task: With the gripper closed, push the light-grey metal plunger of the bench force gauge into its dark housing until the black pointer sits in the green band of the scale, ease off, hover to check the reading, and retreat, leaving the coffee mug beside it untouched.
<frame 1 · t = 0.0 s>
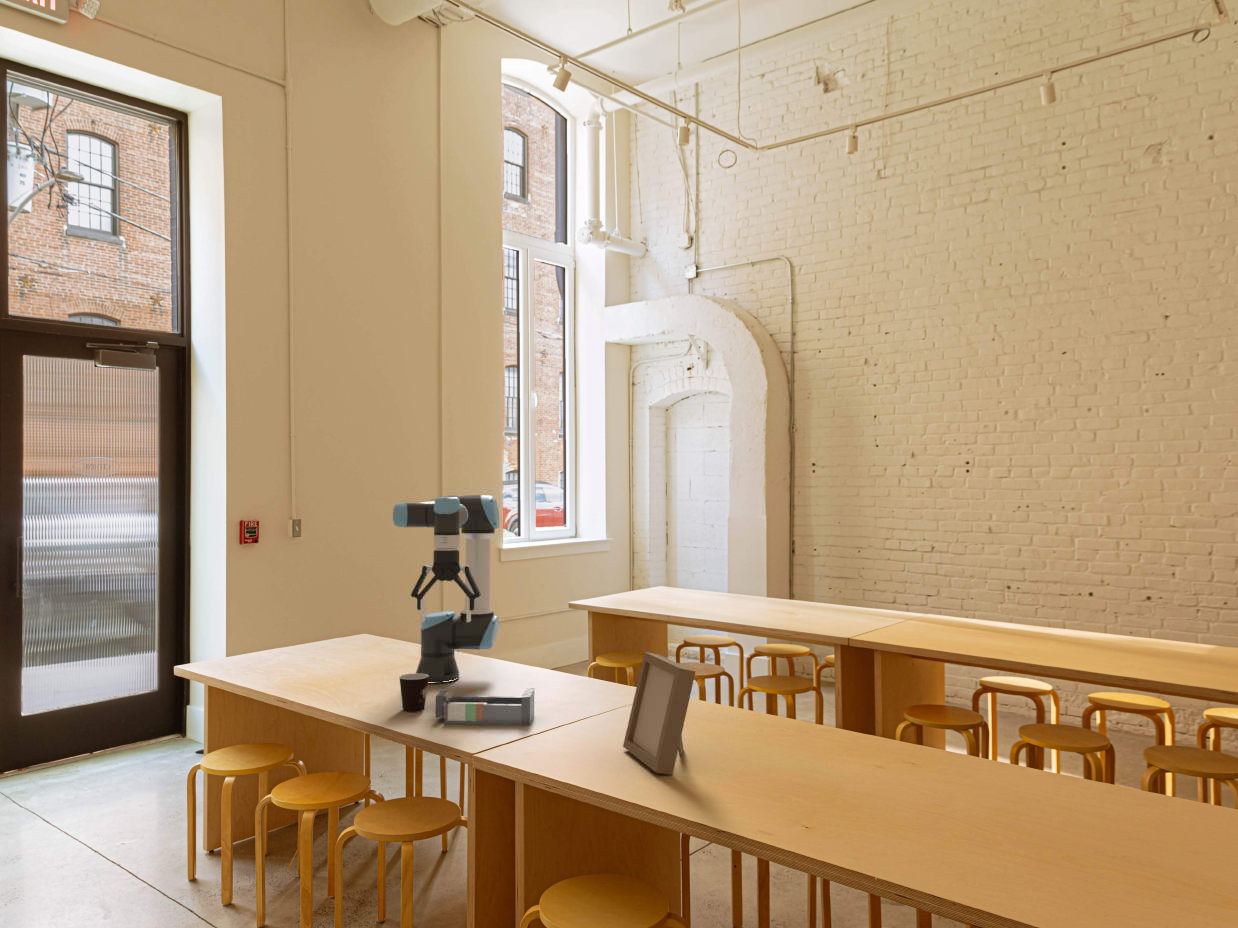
hand: (445, 621, 254), 28 cm above the table, tool pointing down, fingers open, 13 cm apart
coffee mug: (417, 709, 263), on the table
gauge housing: (486, 719, 250), on the table
photo frame: (666, 760, 214), on the table
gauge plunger: (461, 705, 249), point 4 cm above the table, slide at 0.0 cm
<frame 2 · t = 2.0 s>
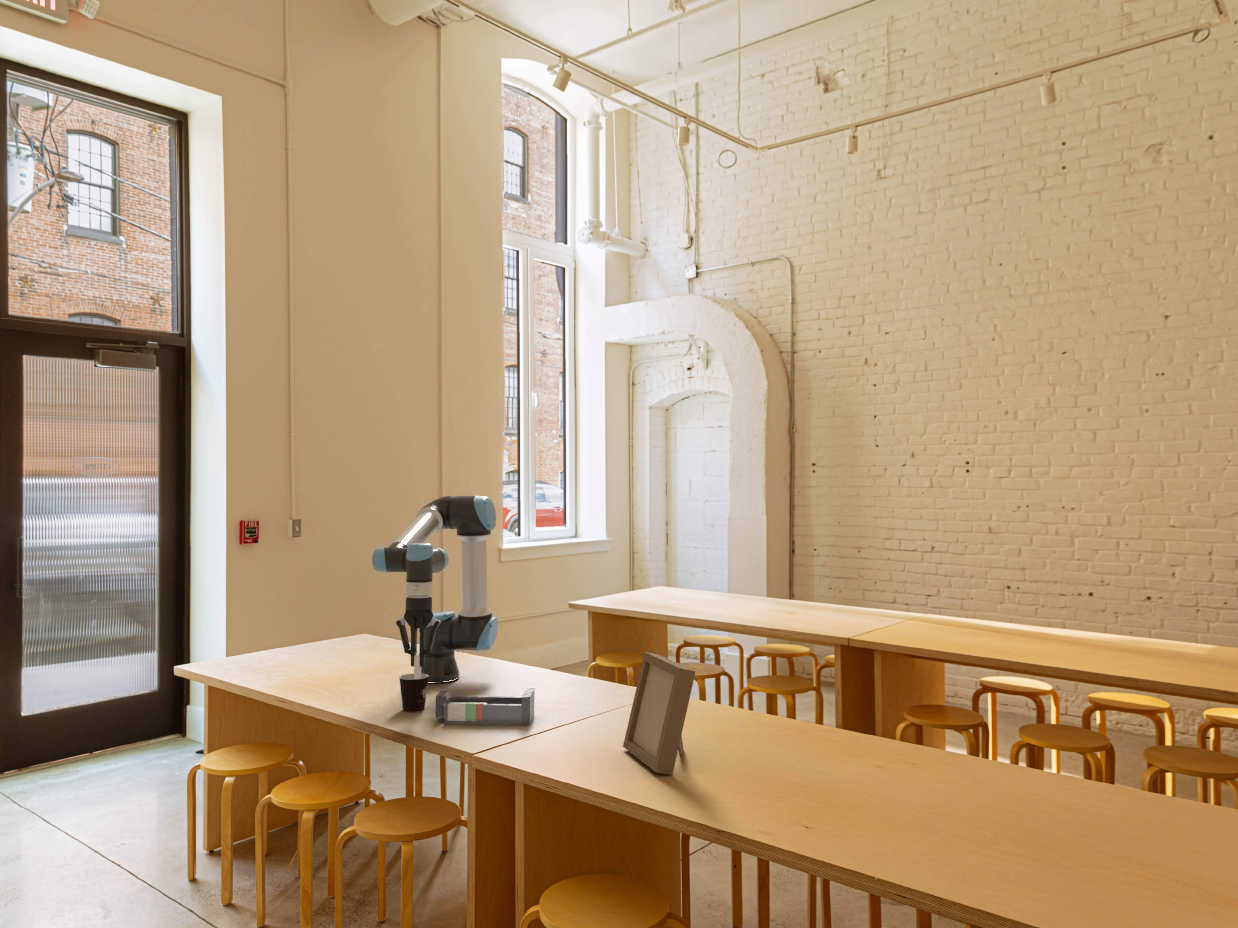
hand: (417, 677, 251), 12 cm above the table, tool pointing down, fingers closed
nothing on the table moved.
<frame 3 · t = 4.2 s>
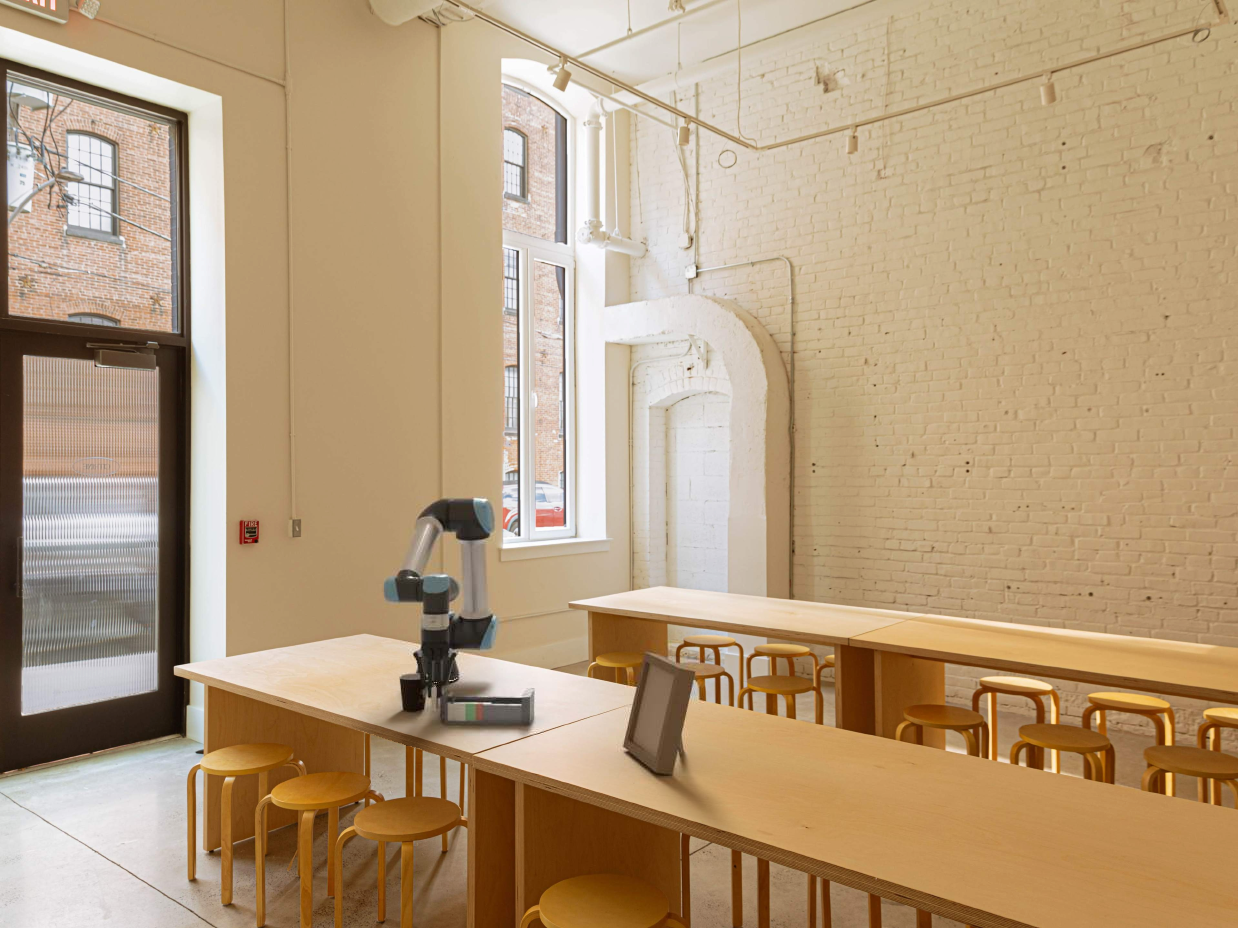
hand: (434, 708, 251), 3 cm above the table, tool pointing down, fingers closed
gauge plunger: (465, 705, 249), point 4 cm above the table, slide at 1.3 cm, touching gripper
everything else where it was.
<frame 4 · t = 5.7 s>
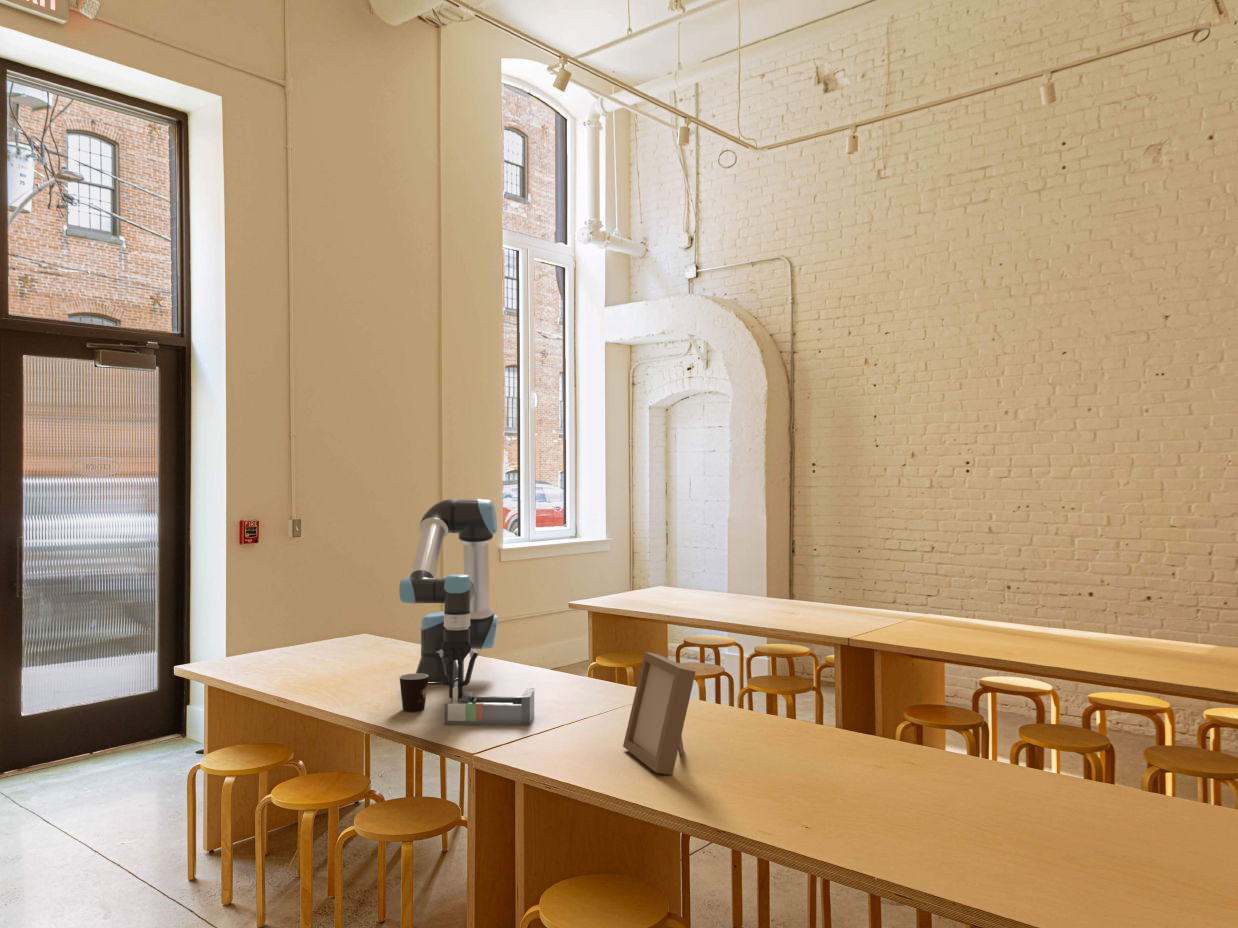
hand: (455, 709, 250), 3 cm above the table, tool pointing down, fingers closed
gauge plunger: (486, 705, 249), point 5 cm above the table, slide at 7.5 cm, touching gripper
everything else where it was.
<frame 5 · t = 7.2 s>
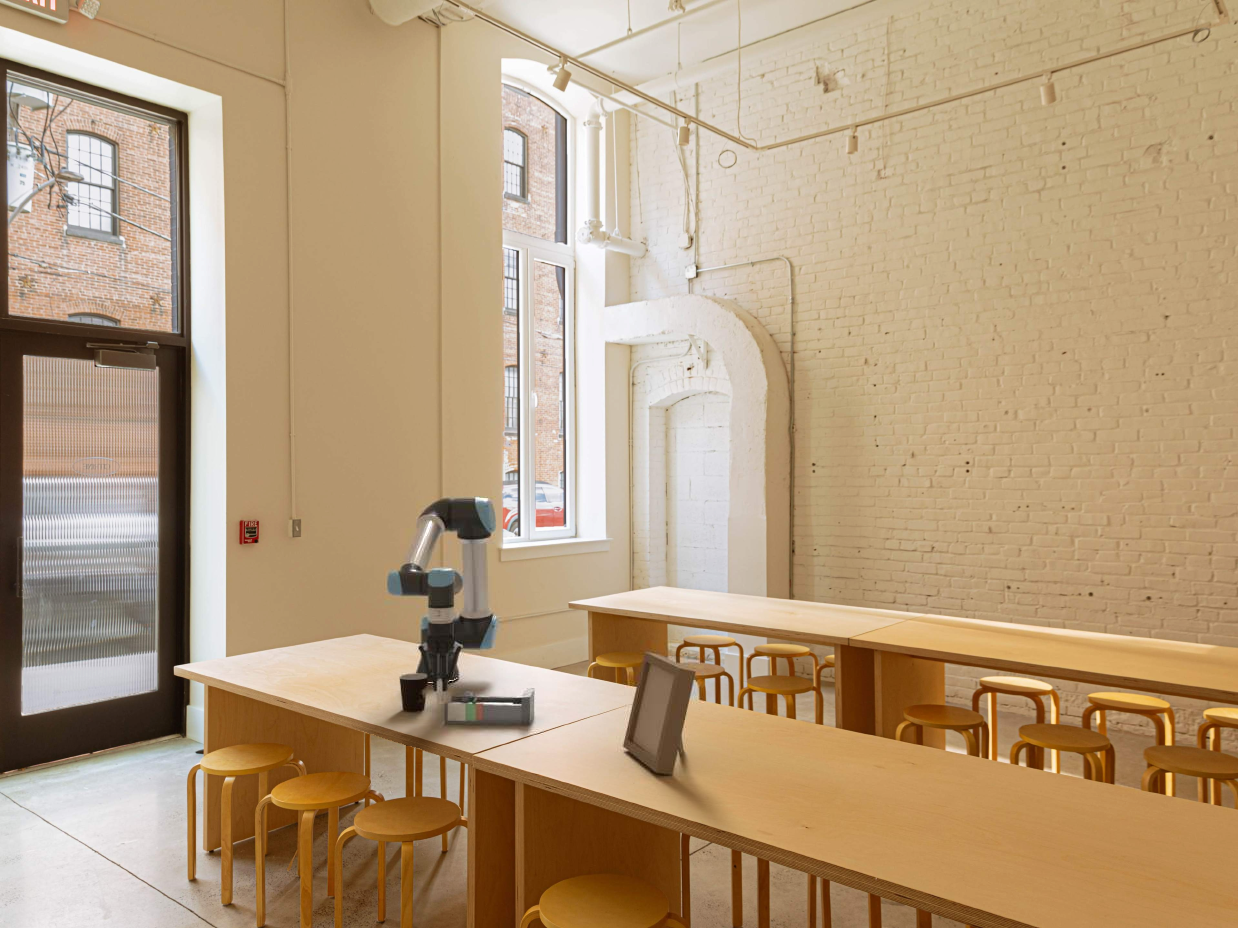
hand: (440, 702, 251), 5 cm above the table, tool pointing down, fingers closed
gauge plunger: (486, 705, 249), point 4 cm above the table, slide at 7.5 cm
everything else where it was.
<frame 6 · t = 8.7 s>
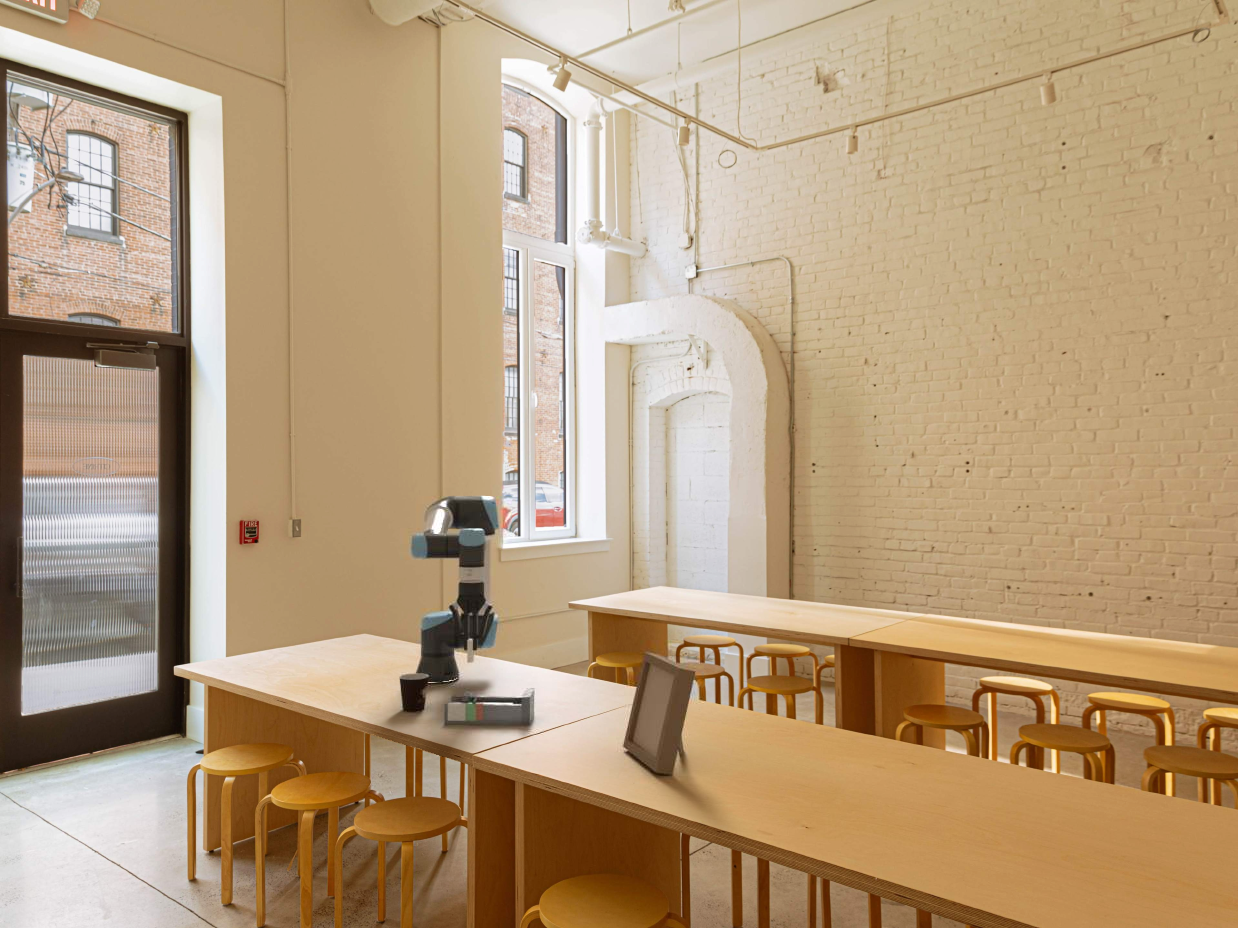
hand: (470, 661, 253), 16 cm above the table, tool pointing down, fingers closed
nothing on the table moved.
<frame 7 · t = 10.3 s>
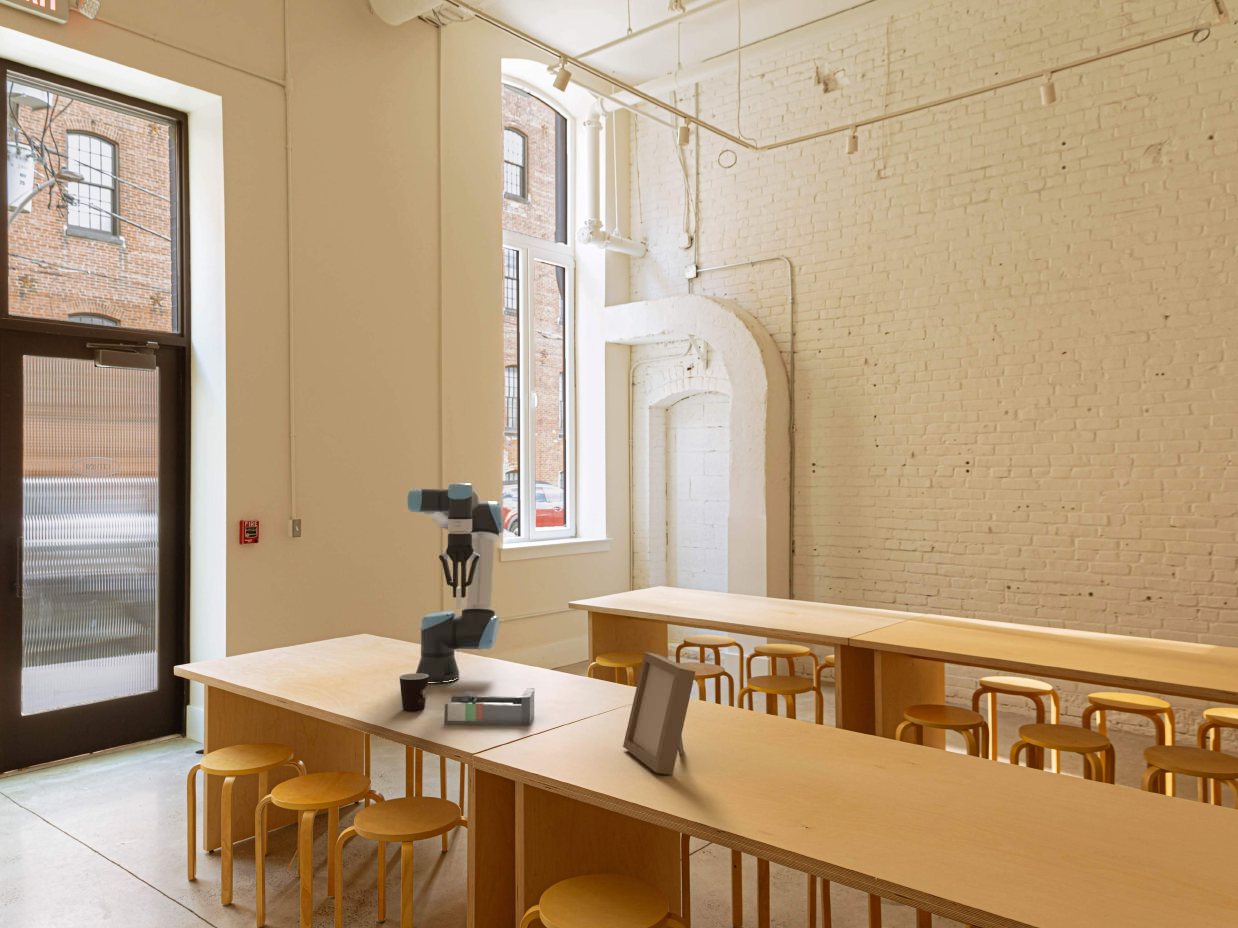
hand: (459, 607, 269), 30 cm above the table, tool pointing down, fingers closed
nothing on the table moved.
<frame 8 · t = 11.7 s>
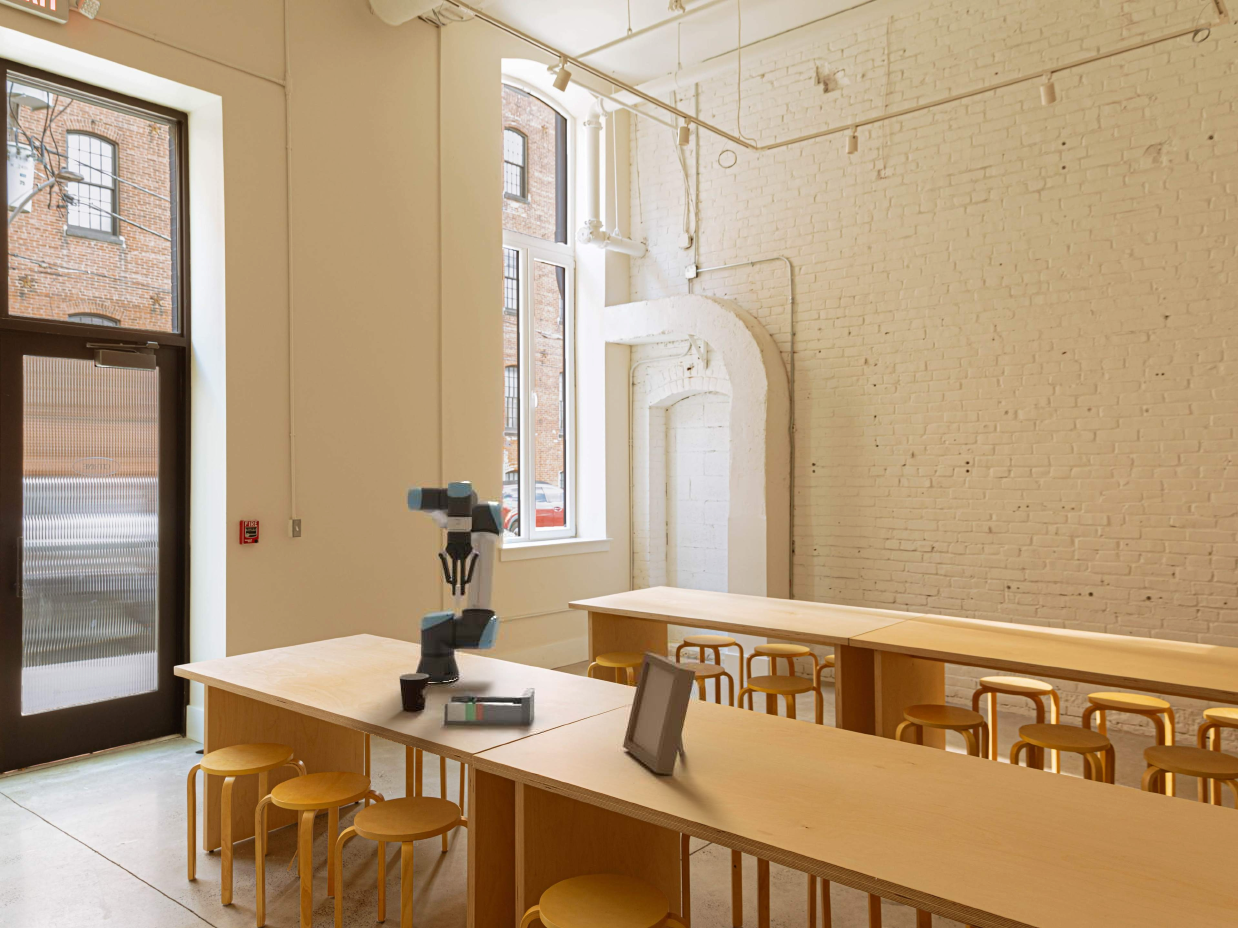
hand: (458, 605, 269), 30 cm above the table, tool pointing down, fingers closed
nothing on the table moved.
at the end: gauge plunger slide at 7.5 cm; coffee mug moved 0.2 cm from its start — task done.
